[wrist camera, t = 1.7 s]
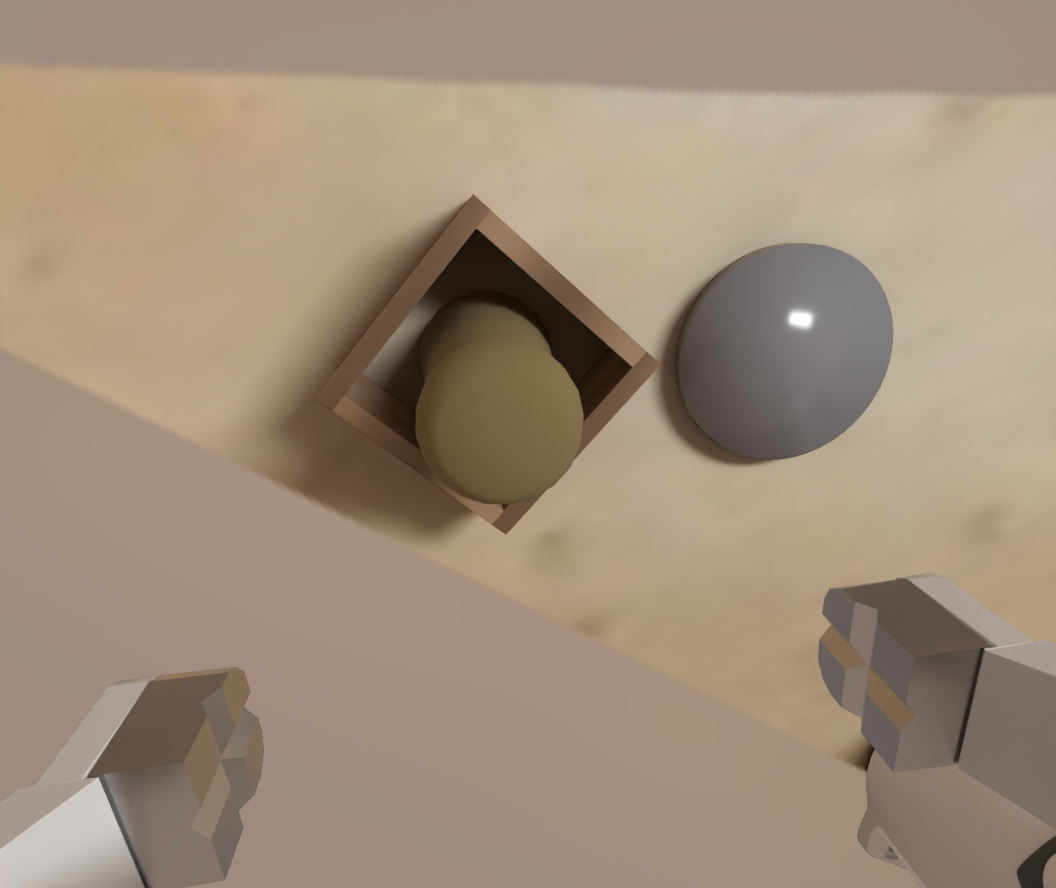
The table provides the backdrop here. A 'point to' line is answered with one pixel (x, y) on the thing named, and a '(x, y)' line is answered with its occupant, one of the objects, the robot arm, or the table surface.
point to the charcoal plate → (784, 350)
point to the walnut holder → (351, 388)
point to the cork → (495, 401)
